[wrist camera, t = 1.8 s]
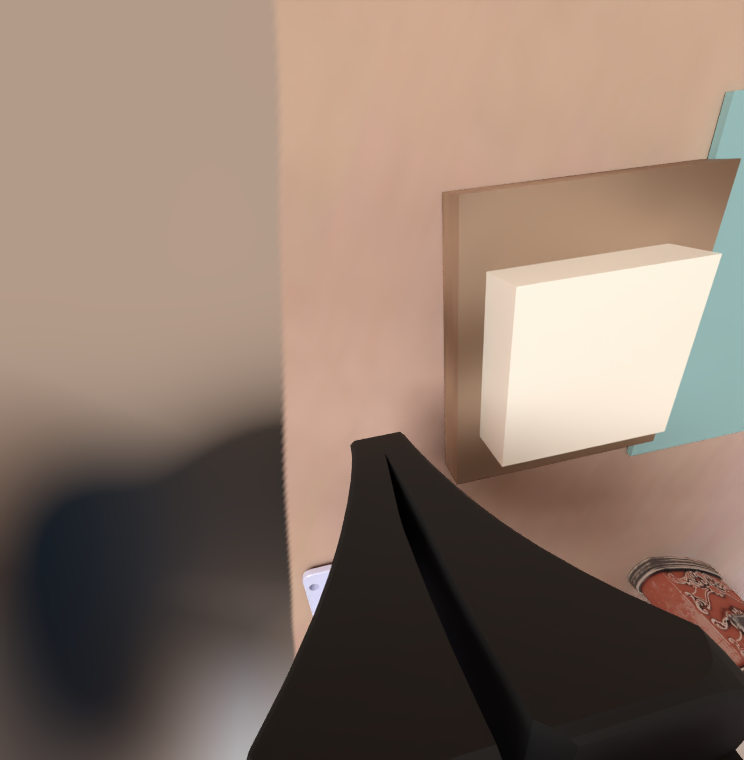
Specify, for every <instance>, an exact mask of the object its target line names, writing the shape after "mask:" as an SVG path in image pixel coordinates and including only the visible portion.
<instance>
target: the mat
mask: <svg viewBox="0 0 744 760" xmlns="http://www.w3.org/2000/svg"><path fill="white" fill-rule="evenodd" d="M733 158H741V161H740V164H739V167H738V171H737V174H736V177H735V180H734V184H733V187H732V190H731V193H730V196H729V200H728V203H727V206H726V209H725V212H724V216H723V219H722V222H721V225H720V228H719V232H718V235H717V238H716V241H715V244H714V248H713V251H712V252H717V253H722V256H721V259H720V262H719V265H718V268H717V271H716V274H715V277H714V280H713V283H712V287H711V290H710V293H709V296H708V299H707V302H706V305H705V308H704V311H703V314H702V317H701V320H700V324H699V327H698V330H697V333H696V336H695V339H694V342H693V345H692V348H691V351H690V354H689V357H688V361H687V364H686V367H685V370H684V373H683V376H682V379H681V382H680V385H679V388H678V391H677V394H676V398H675V401H674V404H673V407H672V410H671V413H670V416H669V419H668V422H667V425H666V428H665V431H664V432H659V433H656V434H655V437H654V440H653V441H651V442H647V443H642V444H638V445H633V446H629V447H628V450H627V453H628V454H629V455H630V456H634V455H638V454H643V453H647V452H652V451H656V450H661V449H665V448H670V447H674V446H678V445H683V444H687V443H692V442H696V441H701V440H705V439H710V438H714V437H718V436H723V435H727V434H732V433H736V432H741V431H744V90H738V91H731V92H726V94H725V97H724V101H723V105H722V108H721V112H720V116H719V119H718V123H717V126H716V130H715V134H714V137H713V141H712V145H711V148H710V152H709V156H708V159H733Z"/></svg>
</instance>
